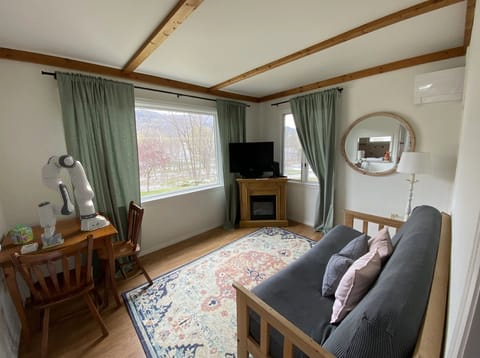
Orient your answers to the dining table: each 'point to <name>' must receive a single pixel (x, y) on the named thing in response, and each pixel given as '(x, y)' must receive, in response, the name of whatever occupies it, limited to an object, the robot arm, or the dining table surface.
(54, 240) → the bar
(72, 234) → the dining table surface
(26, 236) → the chalk box
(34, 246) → the slot block
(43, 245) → the peg rack
